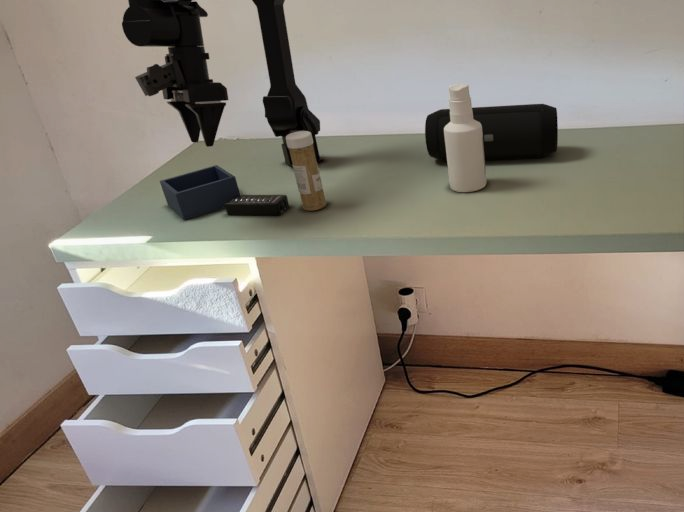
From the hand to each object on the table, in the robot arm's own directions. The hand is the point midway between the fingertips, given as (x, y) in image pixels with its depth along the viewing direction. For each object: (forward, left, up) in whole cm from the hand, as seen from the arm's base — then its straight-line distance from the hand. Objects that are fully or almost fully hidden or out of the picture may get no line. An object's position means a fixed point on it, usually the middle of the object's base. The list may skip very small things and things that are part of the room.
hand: (202, 144), depth 123 cm
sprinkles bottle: (-14, +9, -14) cm, 22 cm away
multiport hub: (-6, +3, -14) cm, 15 cm away
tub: (0, -10, -13) cm, 17 cm away
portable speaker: (-52, +14, -14) cm, 56 cm away
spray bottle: (-39, +23, -14) cm, 48 cm away
